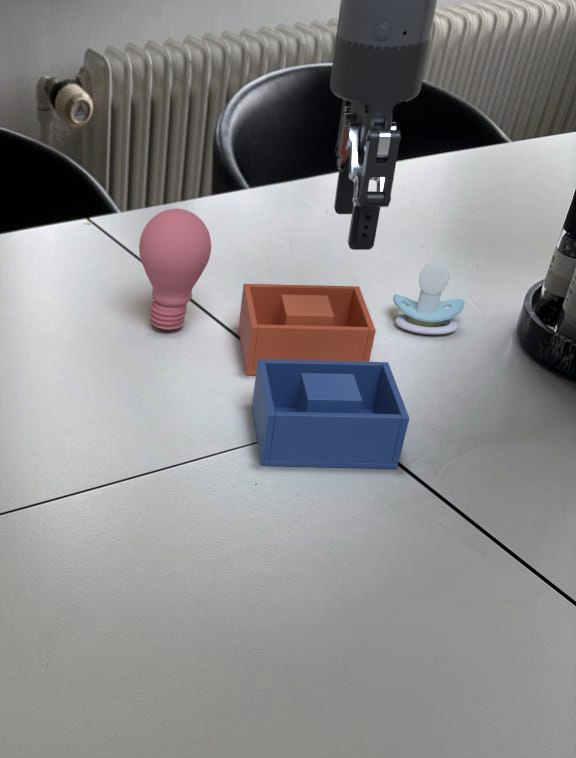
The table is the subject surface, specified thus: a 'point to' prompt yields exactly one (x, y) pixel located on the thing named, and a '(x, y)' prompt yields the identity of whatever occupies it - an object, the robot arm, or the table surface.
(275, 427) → the blue bin
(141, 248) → the light bulb
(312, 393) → the blue block
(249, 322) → the terracotta bin
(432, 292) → the pacifier
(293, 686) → the table surface
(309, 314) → the terracotta block
